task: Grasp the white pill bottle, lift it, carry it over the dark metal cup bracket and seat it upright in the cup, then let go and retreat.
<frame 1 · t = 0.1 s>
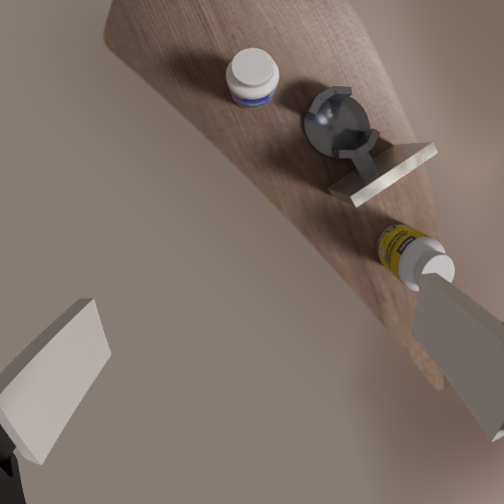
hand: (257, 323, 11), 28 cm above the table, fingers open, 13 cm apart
pill bottle: (252, 89, 34), on the table
cup bracket: (336, 125, 35), on the table
pill bottle 2: (395, 245, 39), on the table
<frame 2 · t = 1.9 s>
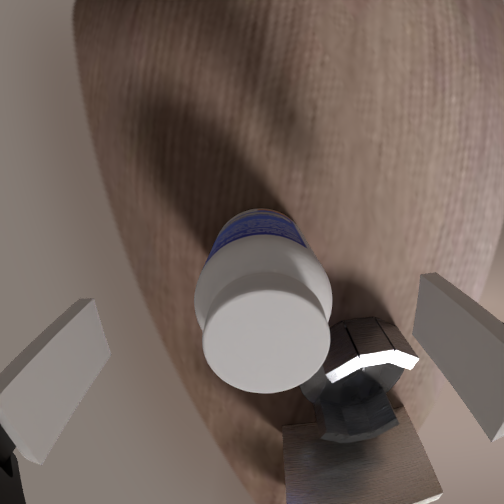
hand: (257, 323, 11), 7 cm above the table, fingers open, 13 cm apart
pill bottle: (261, 251, 18), on the table
cup bracket: (353, 366, 21), on the table
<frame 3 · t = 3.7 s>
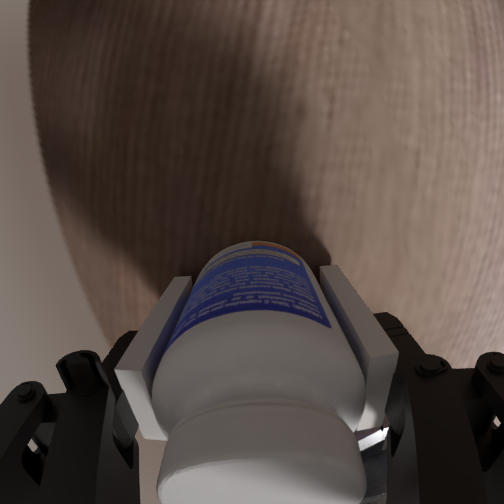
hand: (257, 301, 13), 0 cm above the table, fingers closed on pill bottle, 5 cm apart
pill bottle: (257, 296, 14), on the table, touching gripper
cup bracket: (368, 422, 16), on the table
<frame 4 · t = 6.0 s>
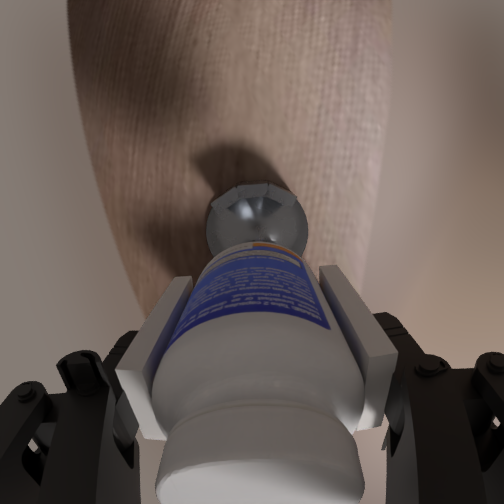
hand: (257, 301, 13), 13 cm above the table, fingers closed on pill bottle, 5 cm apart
pill bottle: (258, 296, 14), point 13 cm above the table, touching gripper
cup bracket: (257, 231, 26), on the table
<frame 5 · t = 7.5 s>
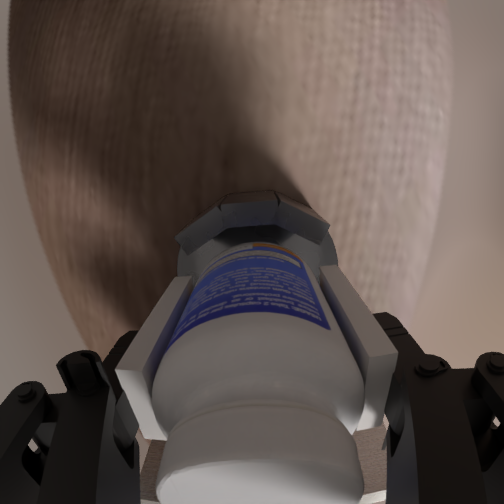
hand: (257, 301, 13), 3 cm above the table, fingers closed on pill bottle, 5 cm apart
pill bottle: (258, 297, 14), point 3 cm above the table, touching gripper
cup bracket: (257, 271, 16), on the table
when the fingers open (2 cm above the table, at t = 8.6 s): pill bottle stays where it is, resting on cup bracket.
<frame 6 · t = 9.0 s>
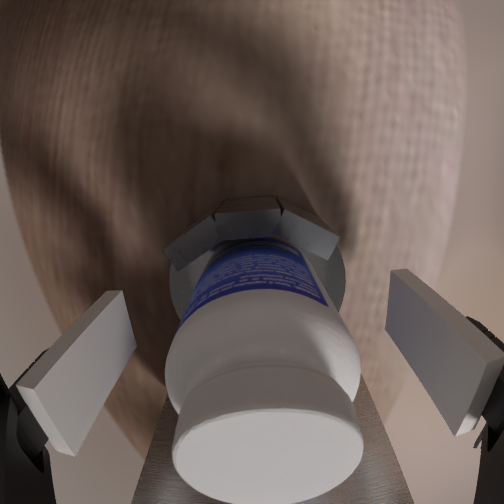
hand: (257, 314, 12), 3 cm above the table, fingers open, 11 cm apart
pill bottle: (259, 286, 15), resting on cup bracket
cup bracket: (257, 285, 15), on the table
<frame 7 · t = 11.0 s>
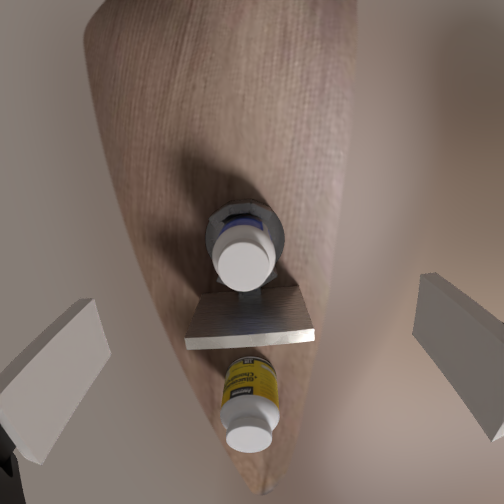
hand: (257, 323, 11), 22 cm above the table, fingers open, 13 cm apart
pill bottle: (245, 238, 33), resting on cup bracket
cup bracket: (244, 238, 33), on the table
pill bottle 2: (250, 373, 38), on the table
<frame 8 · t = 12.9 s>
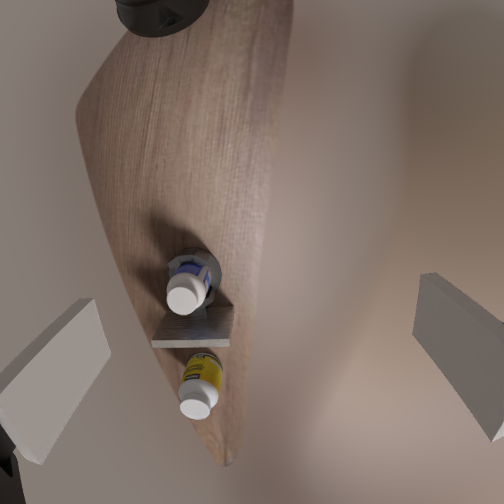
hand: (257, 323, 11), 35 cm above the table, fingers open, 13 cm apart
pill bottle: (195, 274, 47), resting on cup bracket
cup bracket: (194, 273, 48), on the table
pill bottle 2: (205, 365, 53), on the table
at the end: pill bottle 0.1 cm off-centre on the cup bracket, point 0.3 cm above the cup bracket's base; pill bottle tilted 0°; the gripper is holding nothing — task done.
